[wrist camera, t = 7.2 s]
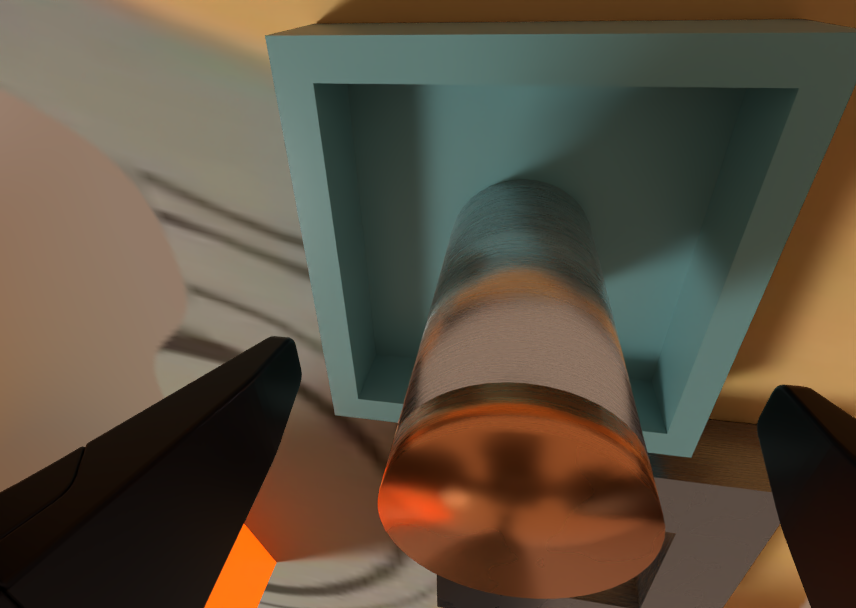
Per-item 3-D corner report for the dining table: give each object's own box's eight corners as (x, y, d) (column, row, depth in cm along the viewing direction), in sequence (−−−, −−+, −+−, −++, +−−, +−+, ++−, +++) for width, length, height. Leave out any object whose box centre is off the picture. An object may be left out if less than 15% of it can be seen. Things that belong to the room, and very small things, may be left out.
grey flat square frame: (677, 585, 21) (692, 651, 19) (446, 548, 22) (437, 606, 20) (762, 425, 15) (798, 495, 13) (446, 391, 17) (434, 449, 15)
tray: (669, 391, 15) (691, 457, 13) (358, 360, 17) (335, 415, 15) (803, 19, 9) (878, 31, 7) (314, 23, 11) (265, 36, 9)
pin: (580, 308, 13) (630, 616, 7) (450, 299, 14) (387, 576, 8) (604, 182, 11) (704, 454, 5) (450, 176, 12) (365, 416, 6)
